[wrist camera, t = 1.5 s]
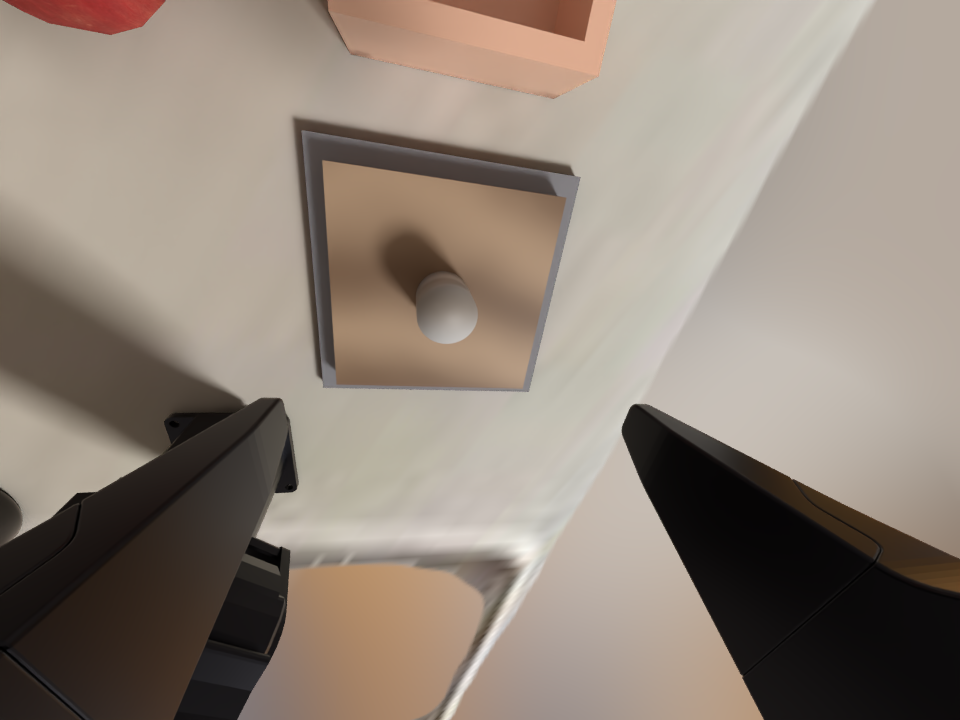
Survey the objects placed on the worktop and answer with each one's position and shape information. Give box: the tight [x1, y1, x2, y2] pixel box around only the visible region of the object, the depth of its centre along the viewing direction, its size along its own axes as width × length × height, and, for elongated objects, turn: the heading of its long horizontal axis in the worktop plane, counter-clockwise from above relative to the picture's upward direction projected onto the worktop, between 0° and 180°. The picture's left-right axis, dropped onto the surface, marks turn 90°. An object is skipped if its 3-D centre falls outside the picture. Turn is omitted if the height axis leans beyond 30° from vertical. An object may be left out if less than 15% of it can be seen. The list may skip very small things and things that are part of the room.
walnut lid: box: [322, 160, 566, 389], centre depth 17 cm, size 11×11×4 cm
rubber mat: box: [301, 130, 580, 392], centre depth 19 cm, size 13×13×1 cm
